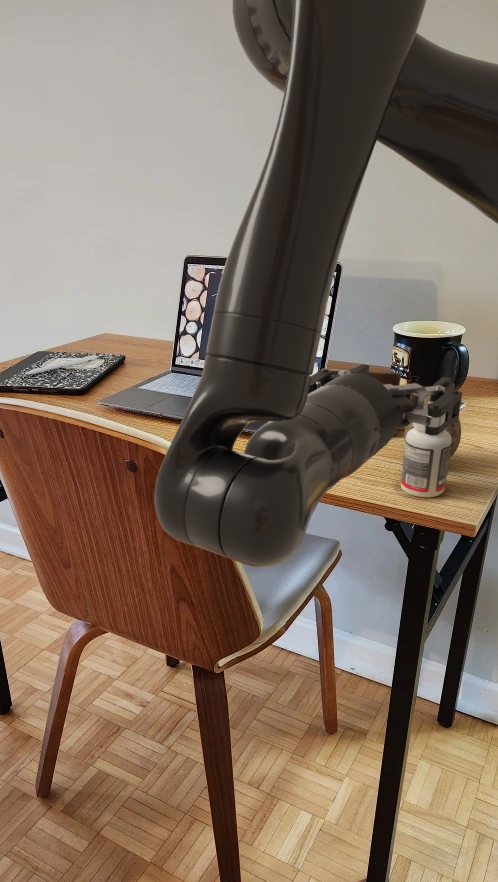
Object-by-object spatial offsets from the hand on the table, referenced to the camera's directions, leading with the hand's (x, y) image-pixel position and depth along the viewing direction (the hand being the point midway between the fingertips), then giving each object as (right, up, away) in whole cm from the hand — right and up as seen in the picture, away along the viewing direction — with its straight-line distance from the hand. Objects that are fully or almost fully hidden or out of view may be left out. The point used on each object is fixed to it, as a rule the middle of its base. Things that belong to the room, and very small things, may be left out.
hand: (404, 380), depth 70 cm
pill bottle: (+7, -11, +16) cm, 21 cm away
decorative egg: (+9, -8, +23) cm, 26 cm away
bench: (+2, -1, +36) cm, 36 cm away
